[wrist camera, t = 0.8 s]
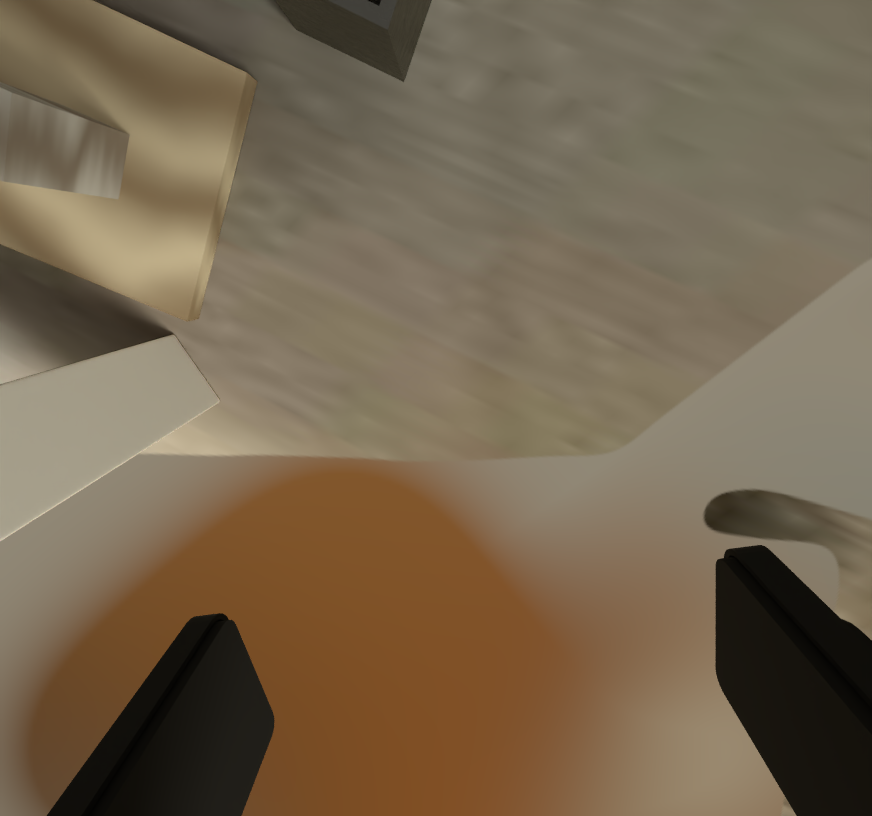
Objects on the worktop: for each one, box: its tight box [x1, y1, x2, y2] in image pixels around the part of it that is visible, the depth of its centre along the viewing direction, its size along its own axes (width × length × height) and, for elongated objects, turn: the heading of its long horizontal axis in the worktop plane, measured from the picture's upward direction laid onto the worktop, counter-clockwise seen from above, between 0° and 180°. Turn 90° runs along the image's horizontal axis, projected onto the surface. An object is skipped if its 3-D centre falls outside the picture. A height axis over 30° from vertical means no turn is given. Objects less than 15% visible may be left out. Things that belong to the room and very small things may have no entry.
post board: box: [0, 0, 257, 322], centre depth 26 cm, size 16×16×10 cm
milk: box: [0, 335, 220, 541], centre depth 25 cm, size 6×6×22 cm
